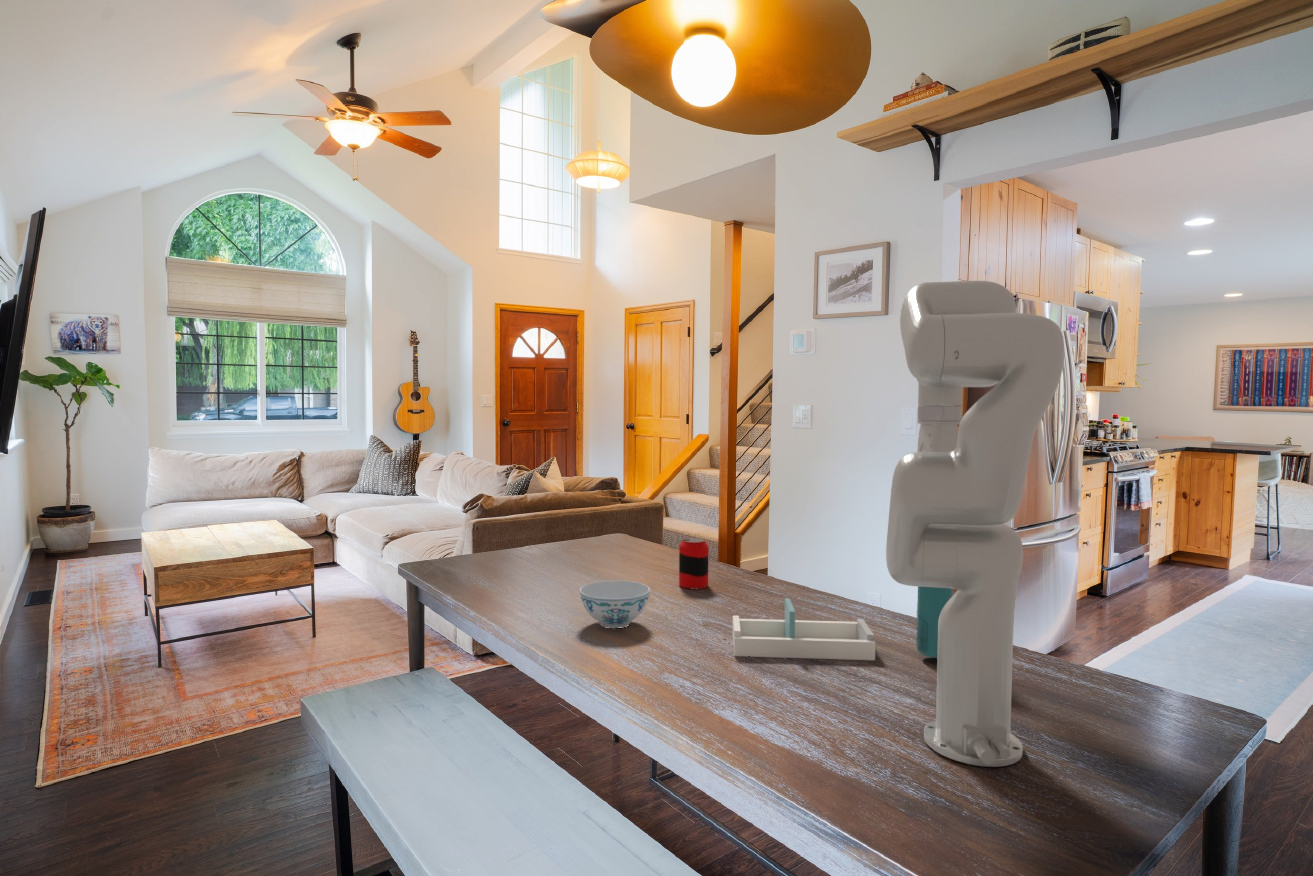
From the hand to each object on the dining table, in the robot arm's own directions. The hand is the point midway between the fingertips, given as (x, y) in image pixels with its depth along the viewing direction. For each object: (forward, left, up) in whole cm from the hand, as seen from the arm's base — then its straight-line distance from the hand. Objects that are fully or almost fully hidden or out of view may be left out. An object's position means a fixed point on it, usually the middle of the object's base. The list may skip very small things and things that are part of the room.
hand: (937, 509), depth 132 cm
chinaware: (+16, +62, -28) cm, 70 cm away
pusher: (+5, +26, -28) cm, 38 cm away
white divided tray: (+5, +24, -28) cm, 37 cm away
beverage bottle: (0, 0, -28) cm, 28 cm away
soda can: (+50, +46, -28) cm, 74 cm away
